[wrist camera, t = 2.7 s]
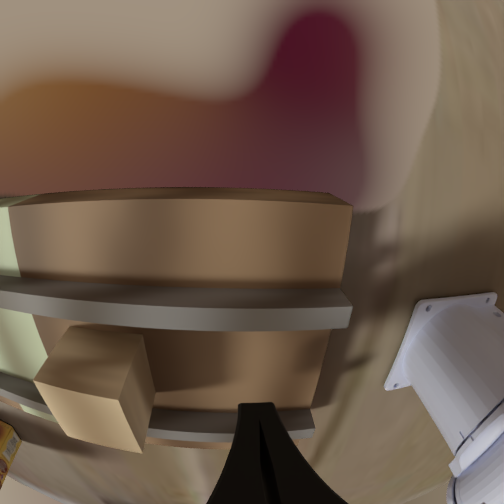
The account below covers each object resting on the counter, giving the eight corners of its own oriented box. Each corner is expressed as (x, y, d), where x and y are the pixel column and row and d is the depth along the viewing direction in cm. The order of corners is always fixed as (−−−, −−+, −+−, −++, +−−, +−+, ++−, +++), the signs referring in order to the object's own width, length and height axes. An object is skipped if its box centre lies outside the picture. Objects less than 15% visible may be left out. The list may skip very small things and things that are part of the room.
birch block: (142, 334, 12) (118, 400, 8) (155, 392, 13) (142, 453, 10) (69, 326, 11) (32, 380, 8) (90, 382, 13) (67, 436, 9)
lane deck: (328, 193, 13) (370, 215, 9) (290, 414, 19) (301, 462, 15) (-76, 212, 11) (-108, 228, 6) (-28, 362, 16) (-47, 388, 12)
